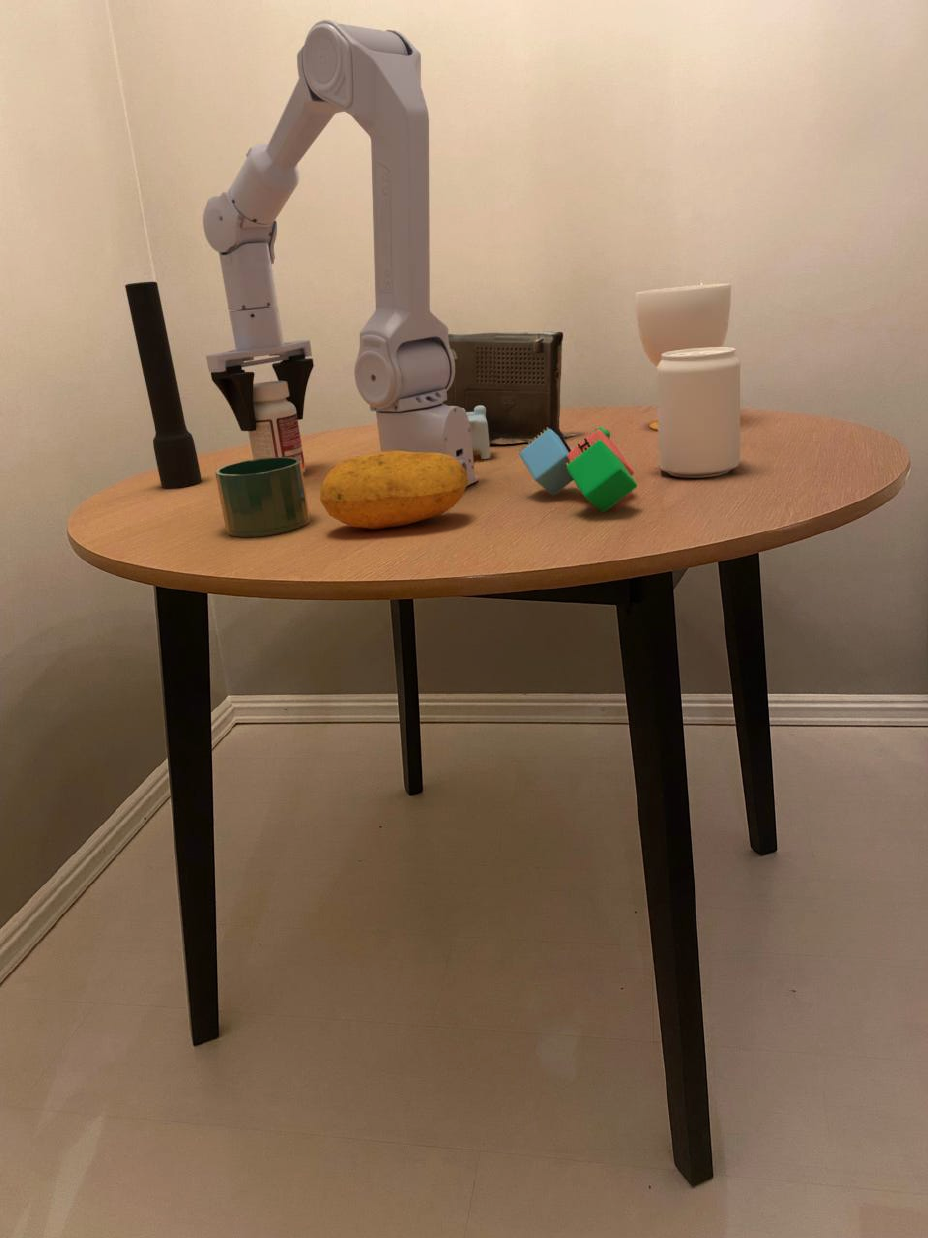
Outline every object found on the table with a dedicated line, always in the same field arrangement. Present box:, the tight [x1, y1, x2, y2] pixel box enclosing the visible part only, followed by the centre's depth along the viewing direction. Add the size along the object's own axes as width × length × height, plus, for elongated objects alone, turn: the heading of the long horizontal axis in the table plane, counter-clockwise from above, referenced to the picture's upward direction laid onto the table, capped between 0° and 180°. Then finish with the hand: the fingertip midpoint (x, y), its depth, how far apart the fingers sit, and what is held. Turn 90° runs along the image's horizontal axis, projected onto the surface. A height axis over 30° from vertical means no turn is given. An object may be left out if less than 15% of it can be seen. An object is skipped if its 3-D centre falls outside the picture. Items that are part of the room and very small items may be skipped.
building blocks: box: [518, 426, 638, 513], centre depth 89 cm, size 8×8×12 cm
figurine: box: [462, 406, 491, 460], centre depth 116 cm, size 4×8×6 cm, turn 4°
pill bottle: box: [247, 380, 306, 474], centre depth 115 cm, size 6×6×11 cm
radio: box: [443, 330, 579, 445], centre depth 124 cm, size 23×9×15 cm, turn 60°
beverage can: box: [656, 346, 741, 479], centre depth 95 cm, size 8×8×12 cm
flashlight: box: [124, 281, 203, 489], centre depth 115 cm, size 5×24×5 cm
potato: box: [319, 450, 468, 530], centre depth 87 cm, size 8×14×7 cm, turn 89°
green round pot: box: [214, 457, 311, 538], centre depth 92 cm, size 8×8×6 cm
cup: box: [634, 283, 732, 431], centre depth 121 cm, size 12×12×17 cm
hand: (272, 424), depth 115 cm, fingers open, 7 cm apart
